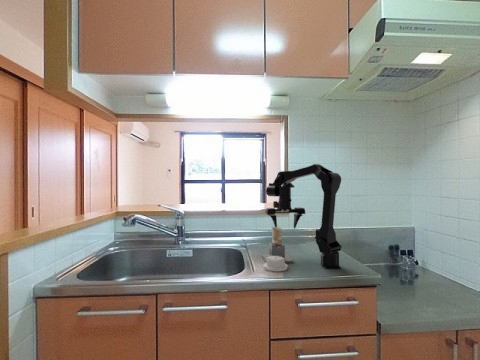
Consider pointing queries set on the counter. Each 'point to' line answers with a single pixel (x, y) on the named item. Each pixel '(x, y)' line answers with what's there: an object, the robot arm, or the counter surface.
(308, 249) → the counter surface
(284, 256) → the metal stand
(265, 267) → the mechanical component
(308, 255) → the counter surface
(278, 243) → the birch post
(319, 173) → the robot arm
